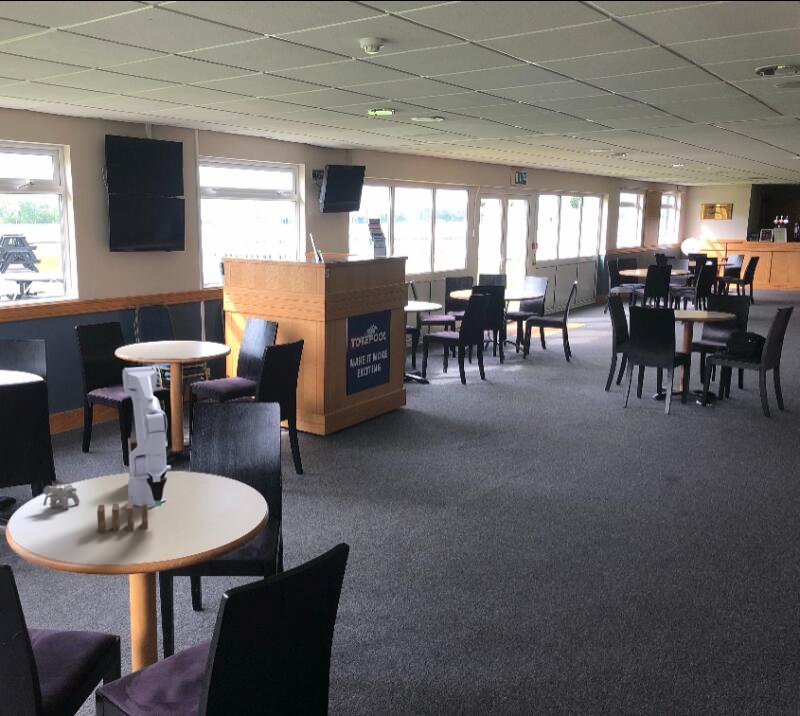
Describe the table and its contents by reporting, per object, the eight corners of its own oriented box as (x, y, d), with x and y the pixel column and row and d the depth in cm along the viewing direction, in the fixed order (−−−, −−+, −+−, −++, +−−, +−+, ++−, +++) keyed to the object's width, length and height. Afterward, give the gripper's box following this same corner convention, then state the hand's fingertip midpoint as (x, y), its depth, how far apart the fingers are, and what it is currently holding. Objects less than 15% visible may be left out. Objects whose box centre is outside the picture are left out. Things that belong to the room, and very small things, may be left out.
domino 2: (113, 532, 221) (111, 510, 219) (114, 525, 225) (112, 503, 224) (119, 532, 221) (117, 509, 220) (119, 525, 226) (118, 503, 225)
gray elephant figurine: (82, 502, 244) (81, 479, 243) (68, 515, 232) (66, 490, 231) (53, 502, 243) (52, 479, 242) (37, 515, 232) (35, 491, 230)
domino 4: (142, 529, 223) (141, 507, 222) (142, 523, 228) (141, 501, 226) (147, 529, 224) (146, 506, 222) (148, 522, 228) (147, 500, 227)
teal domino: (155, 506, 223) (154, 483, 222) (155, 500, 228) (154, 478, 226) (161, 505, 223) (160, 483, 222) (161, 499, 228) (160, 477, 227)
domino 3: (127, 531, 222) (126, 508, 221) (128, 524, 227) (127, 502, 225) (133, 530, 222) (132, 508, 221) (134, 523, 227) (132, 501, 226)
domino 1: (98, 534, 220) (97, 511, 218) (99, 527, 224) (98, 504, 223) (104, 533, 220) (103, 510, 219) (105, 526, 225) (104, 504, 223)
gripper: (170, 459, 217) (172, 504, 220) (169, 444, 230) (171, 487, 233) (144, 461, 215) (146, 506, 217) (145, 446, 228) (147, 489, 231)
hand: (157, 496), depth 225 cm, fingers closed on teal domino, 5 cm apart
